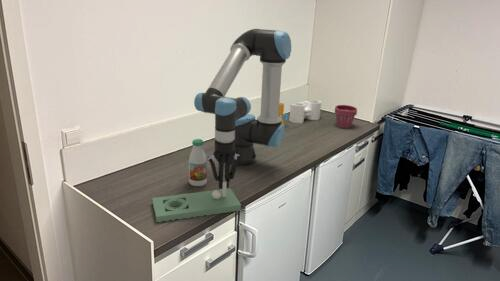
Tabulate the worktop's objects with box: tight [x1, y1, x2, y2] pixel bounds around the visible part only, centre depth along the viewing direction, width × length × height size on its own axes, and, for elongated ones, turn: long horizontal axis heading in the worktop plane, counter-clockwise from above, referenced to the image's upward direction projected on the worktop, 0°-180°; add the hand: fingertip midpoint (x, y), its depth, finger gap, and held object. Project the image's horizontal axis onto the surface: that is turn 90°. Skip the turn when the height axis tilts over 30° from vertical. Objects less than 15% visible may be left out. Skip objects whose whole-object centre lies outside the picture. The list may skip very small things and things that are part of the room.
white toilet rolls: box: [288, 98, 322, 124], centre depth 262 cm, size 25×10×12 cm, turn 129°
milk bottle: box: [188, 138, 208, 187], centre depth 164 cm, size 8×8×20 cm
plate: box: [151, 187, 242, 223], centre depth 148 cm, size 32×14×2 cm, turn 110°
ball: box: [212, 189, 221, 199], centre depth 150 cm, size 4×4×4 cm
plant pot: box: [334, 104, 358, 129], centre depth 251 cm, size 14×14×13 cm
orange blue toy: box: [279, 102, 290, 125], centre depth 245 cm, size 12×10×15 cm
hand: (223, 195), depth 151 cm, fingers closed
